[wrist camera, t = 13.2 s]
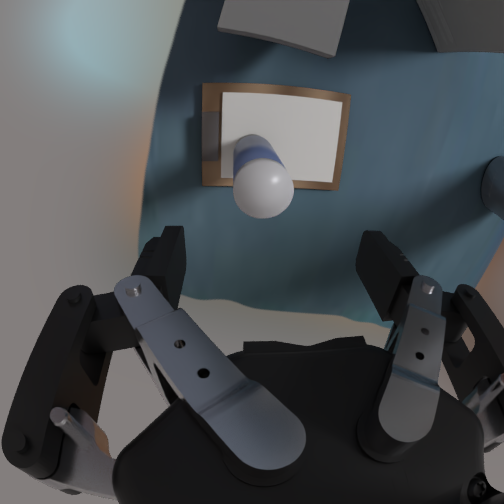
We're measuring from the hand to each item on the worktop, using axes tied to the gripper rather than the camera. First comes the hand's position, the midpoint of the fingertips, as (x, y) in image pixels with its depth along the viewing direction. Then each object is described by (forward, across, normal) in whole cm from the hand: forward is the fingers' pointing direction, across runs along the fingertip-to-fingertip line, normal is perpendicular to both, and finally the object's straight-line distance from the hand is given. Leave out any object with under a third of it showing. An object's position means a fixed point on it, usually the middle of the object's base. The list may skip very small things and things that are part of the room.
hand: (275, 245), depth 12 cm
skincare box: (+20, -22, -21) cm, 36 cm away
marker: (+18, 0, 0) cm, 18 cm away
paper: (+20, -3, -2) cm, 20 cm away
